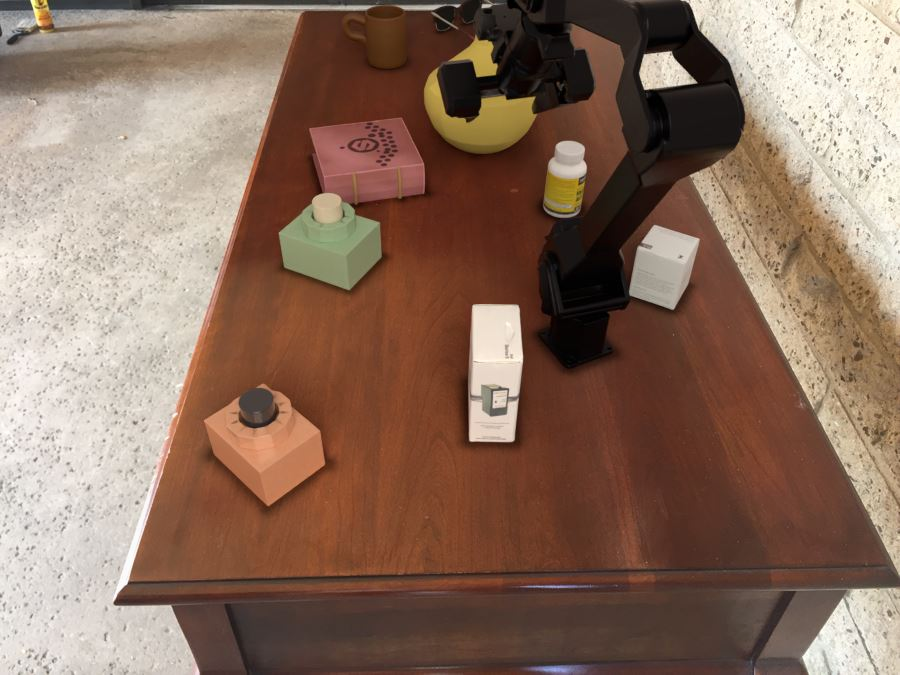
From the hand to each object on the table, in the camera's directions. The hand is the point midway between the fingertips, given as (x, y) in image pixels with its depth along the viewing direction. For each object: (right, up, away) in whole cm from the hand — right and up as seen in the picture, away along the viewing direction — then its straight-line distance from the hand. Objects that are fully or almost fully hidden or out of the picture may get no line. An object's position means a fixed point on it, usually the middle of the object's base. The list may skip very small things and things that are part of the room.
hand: (500, 115), depth 101 cm
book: (-19, -5, +17) cm, 26 cm away
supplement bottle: (+10, -11, +11) cm, 18 cm away
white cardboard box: (+20, -23, -3) cm, 30 cm away
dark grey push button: (-25, -36, -28) cm, 52 cm away
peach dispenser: (-25, -41, -23) cm, 53 cm away
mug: (-21, +23, +47) cm, 57 cm away
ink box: (-2, -37, -18) cm, 41 cm away
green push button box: (-22, -19, +1) cm, 29 cm away
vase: (-2, +3, +26) cm, 26 cm away
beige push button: (-22, -14, -4) cm, 26 cm away
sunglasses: (0, +32, +57) cm, 65 cm away
